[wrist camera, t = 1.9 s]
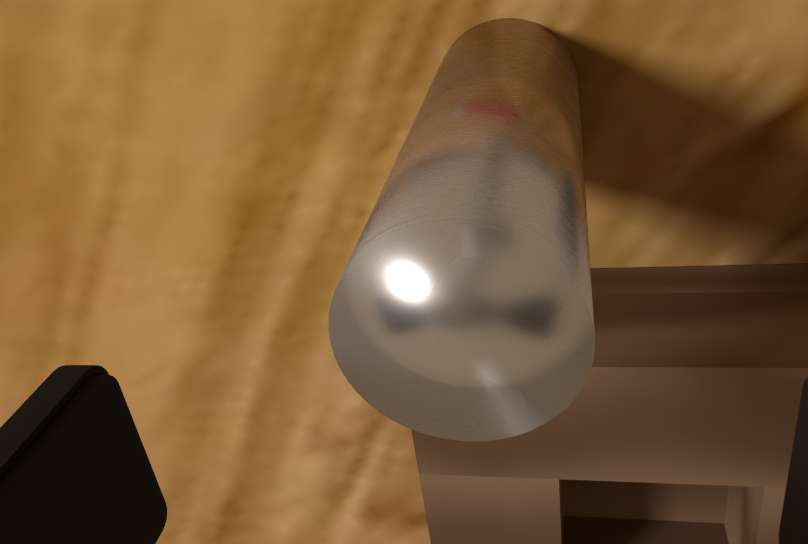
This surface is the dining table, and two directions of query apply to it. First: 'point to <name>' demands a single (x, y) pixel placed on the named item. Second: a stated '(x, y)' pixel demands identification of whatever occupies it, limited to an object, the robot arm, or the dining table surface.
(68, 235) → the dining table surface
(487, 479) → the walnut socket block
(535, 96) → the steel peg
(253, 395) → the dining table surface
